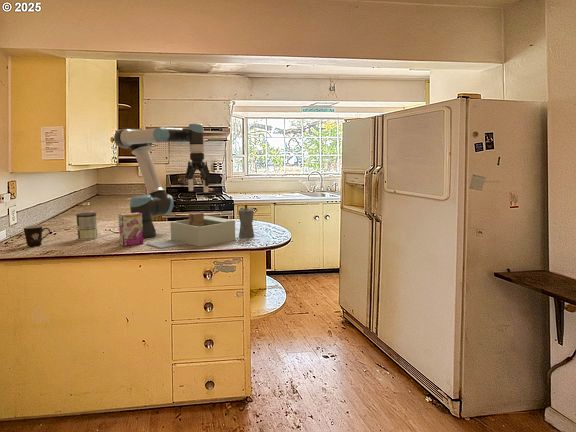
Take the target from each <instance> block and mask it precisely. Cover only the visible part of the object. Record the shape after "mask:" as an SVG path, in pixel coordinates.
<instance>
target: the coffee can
mask: <svg viewBox="0 0 576 432" xmlns="http://www.w3.org/2000/svg"><path fill="white" fill-rule="evenodd" d="M97 226H98V223H97V213H96V212H82V213H81V212H80V213H77V214H76V227H77V240H78V239H79V240H78V241H82V240H86V241H92V240H93V241H95V240H97V239H99V238H98V227H97Z"/></svg>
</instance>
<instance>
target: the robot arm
mask: <svg viewBox="0 0 576 432" xmlns="http://www.w3.org/2000/svg"><path fill="white" fill-rule="evenodd" d="M203 127H204V126H203V124H202V123H189V124H188V127H164V126H162V127H161V126H160V127H156V128H147V129H143V128H120V129H118V130H116V131H115V133H114V136H113V140H114V143H115V144H116V146H118V147H119V148H121V149H128V150H129V149H130V152H131V154H132V155H133V156H135V158H136V159H135V160H136V161H137V164H138V167H139V170H140V172H141V176H142V178H143V182H144V185H145V188H146V192H147V193H143V194H138V195H137V194H136V195H133V196H132V197H130V200H129V201H130V202H129V206H130V207H129V210H130V213H142V217H143V239H147V238H148V239H149V238H152V237H153V238H154V237H155V236H156V237H157V229H156V228H155V225H154V224H153V217H156V216H164V215H168V214H170V213H171V212H172V211H173V209H174V201H175V200H174V197H173V196H172V195H171V194H168V193H167V191H166V188H164V187H162V184H161V181H160V178H159V175H158V173H157V170H156V166H155V162H154V159H153V158H152V154H151V150H152V146H153V143H154V144H155V143H187V142H189V152H190V153H189V159H190V160H191V161H187V168H186V172H185V176H184V178H186V179H187V184H188V192H193V191H194V178H193V177H194V175H195V174H196V171H199V173H200V174H201V176H202V178H203V180H202V181H203V182H202V183H203V193H209V186H210V185H209V184H210V182H209V181H210V180H212V175H211V173H210V170H209V167H208V161H204V160H205V153H204V151H205V150H204V146H205V145H204V128H203Z"/></svg>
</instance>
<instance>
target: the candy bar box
mask: <svg viewBox="0 0 576 432" xmlns="http://www.w3.org/2000/svg"><path fill="white" fill-rule="evenodd" d="M118 229H119V230H118V231H119V233H118V234H119V235H118V236H119V246H122V247H128V246H129V247H130V246H131V247H132V246H136V245H137V246H138V245H142V244H144V238H143V217H142V213H131V212H130V213H129V212H128V213H118Z"/></svg>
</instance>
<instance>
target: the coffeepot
mask: <svg viewBox="0 0 576 432" xmlns="http://www.w3.org/2000/svg"><path fill="white" fill-rule="evenodd" d="M237 213H238V217H239V223H240V225H239V234H238V237H239V238H241V239H251V238H254V237H255V232H254V227H253V221H254V214H255V210H254V209H252V208H248V205H247V204H244V207H240V209H238V211H237Z"/></svg>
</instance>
